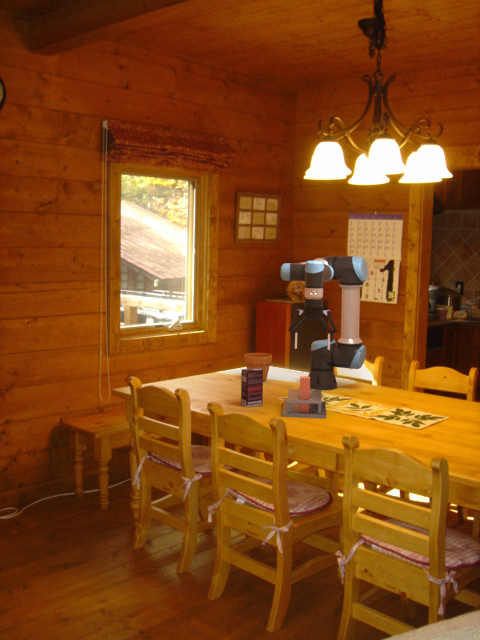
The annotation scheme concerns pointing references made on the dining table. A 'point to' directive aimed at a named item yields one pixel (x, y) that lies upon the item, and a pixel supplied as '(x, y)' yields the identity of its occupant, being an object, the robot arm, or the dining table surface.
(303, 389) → the pink rectangular block
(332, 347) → the robot arm
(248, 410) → the dining table surface
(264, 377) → the flower pot
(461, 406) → the dining table surface
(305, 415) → the grey stand
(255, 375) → the supplement box
